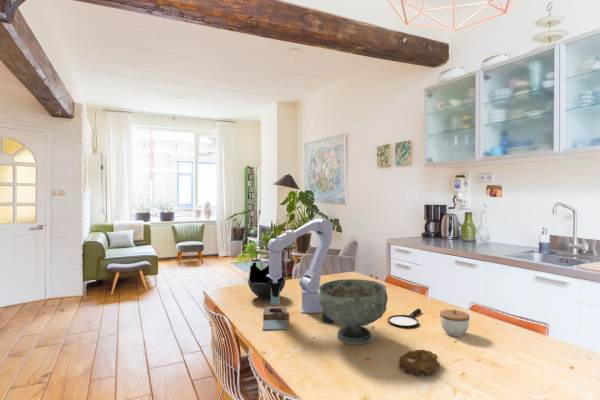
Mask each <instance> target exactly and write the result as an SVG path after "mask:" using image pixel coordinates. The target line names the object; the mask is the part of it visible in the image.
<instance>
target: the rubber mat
mask: <svg viewBox="0 0 600 400" xmlns="http://www.w3.org/2000/svg"><path fill="white" fill-rule="evenodd" d="M287 330H288V319H287V320H263V323H262V331H287Z"/></svg>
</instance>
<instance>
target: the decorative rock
mask: <svg viewBox="0 0 600 400" xmlns="http://www.w3.org/2000/svg"><path fill="white" fill-rule="evenodd" d="M398 362H399V363H398V365H399V367H400V368H401V369H402V370H403V371H404V374H405V375H409V374H410V375H411V376H415V374H416V375H417V376H424V375H425V374H427V375H430V376H431V375H432V374H435V373H436V371H438V369H440V367H441V366H440V365H441V363H440V362H439V360H438V354H437V353H433V352H432V351H430V350H425V349H417V350H414V351H410V350H409V351H408V352H405V353H404V354H403V355H401V356H400V357H399V358H398Z"/></svg>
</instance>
